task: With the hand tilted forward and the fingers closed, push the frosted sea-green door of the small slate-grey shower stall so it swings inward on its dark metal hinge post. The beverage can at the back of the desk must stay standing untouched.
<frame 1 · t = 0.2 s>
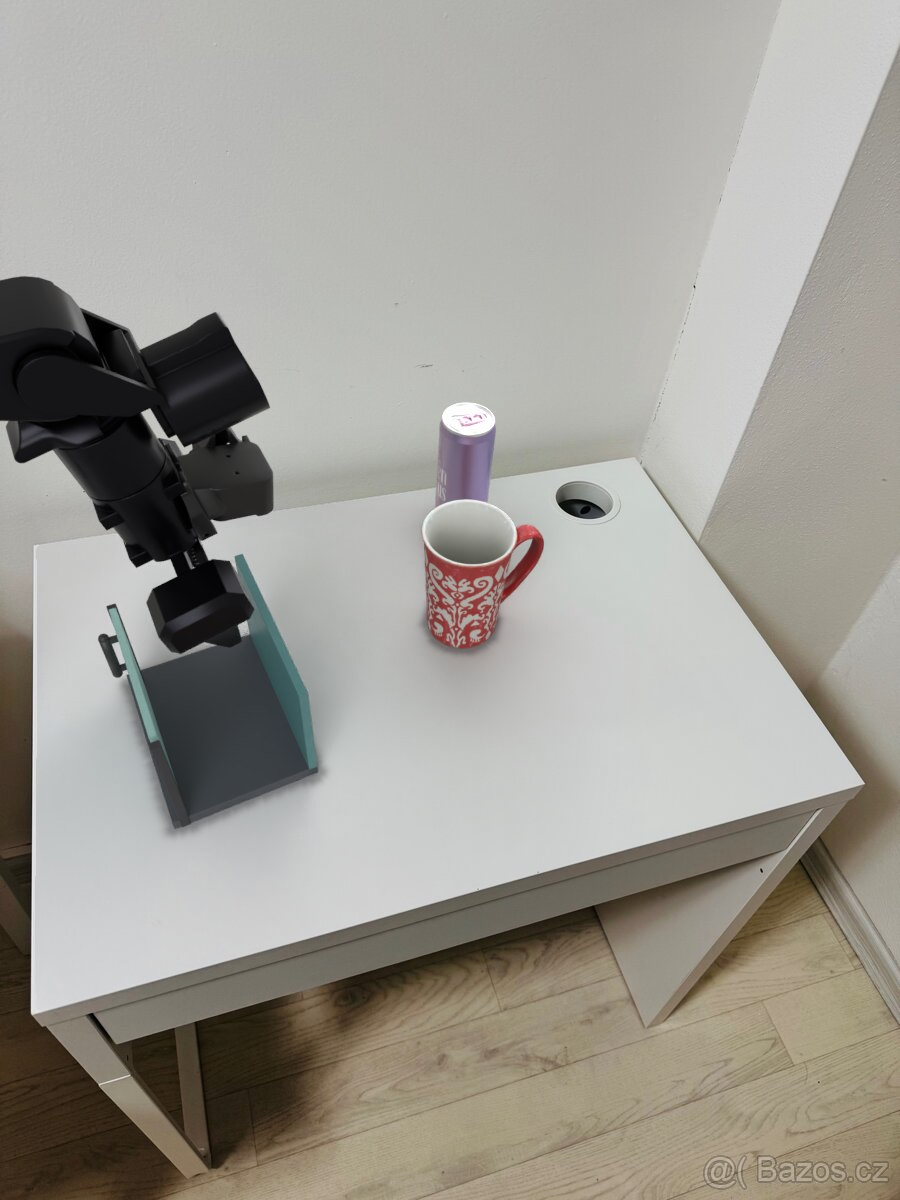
hand: (218, 602, 67), 16 cm above the table, tool pointing down, fingers open, 9 cm apart
beverage can: (459, 523, 99), on the table
shower stall: (220, 725, 79), on the table
shower door: (135, 707, 71), point 7 cm above the table, hinge at 0.0°
mug: (476, 620, 89), on the table
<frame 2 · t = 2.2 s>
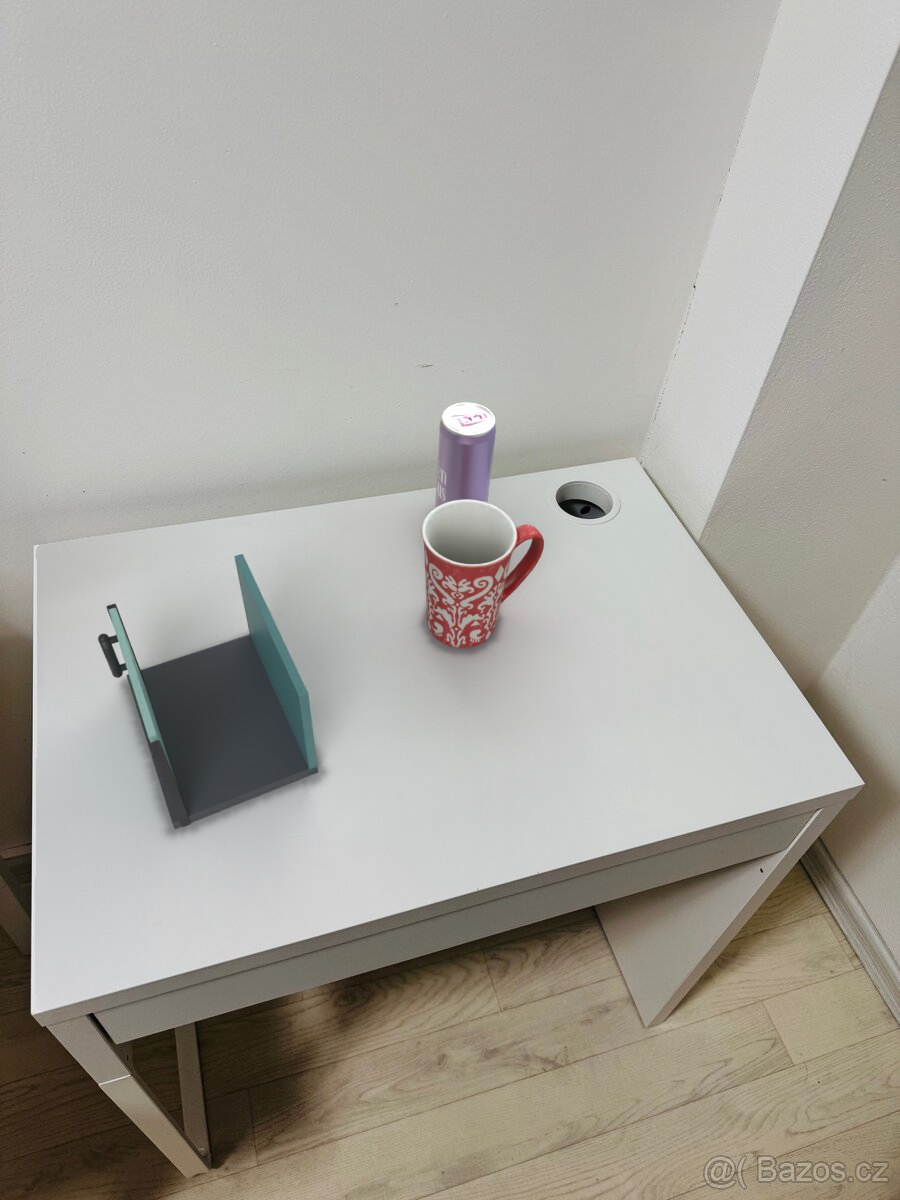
nothing on the table moved.
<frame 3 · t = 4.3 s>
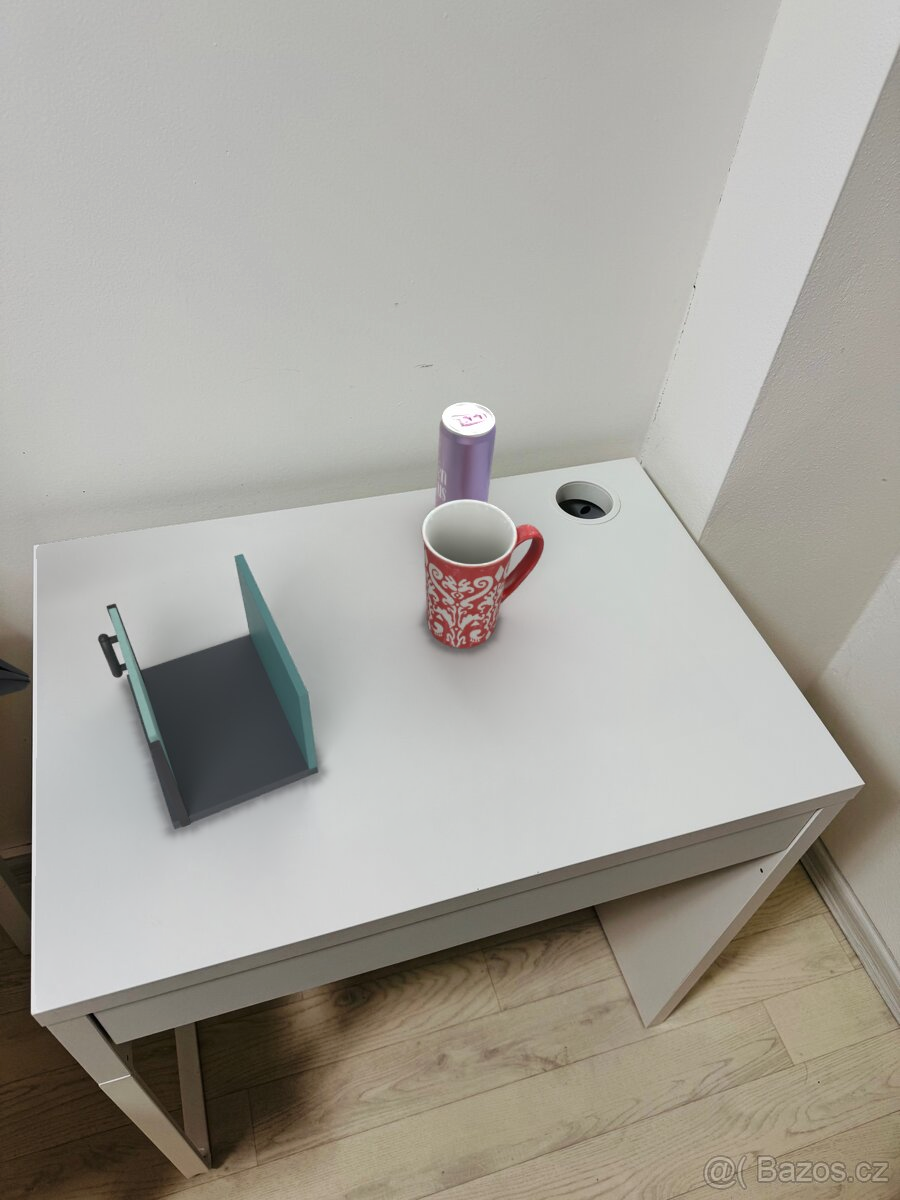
hand: (27, 682, 68), 11 cm above the table, tool tilted 45°, fingers closed
nothing on the table moved.
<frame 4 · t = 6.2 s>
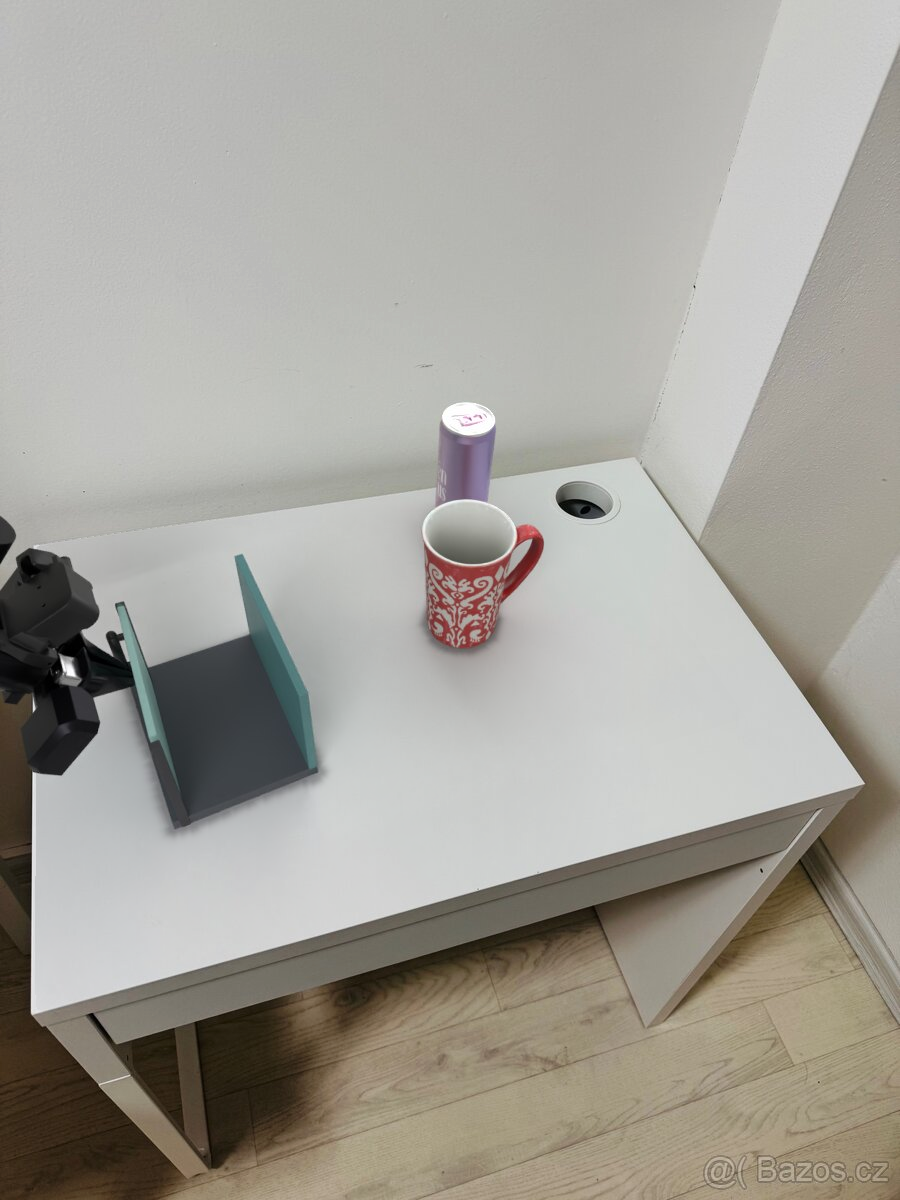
hand: (136, 679, 73), 7 cm above the table, tool tilted 45°, fingers closed, pressing on shower door
shower door: (140, 705, 72), point 7 cm above the table, hinge at 2.8°, touching gripper
everything else where it was.
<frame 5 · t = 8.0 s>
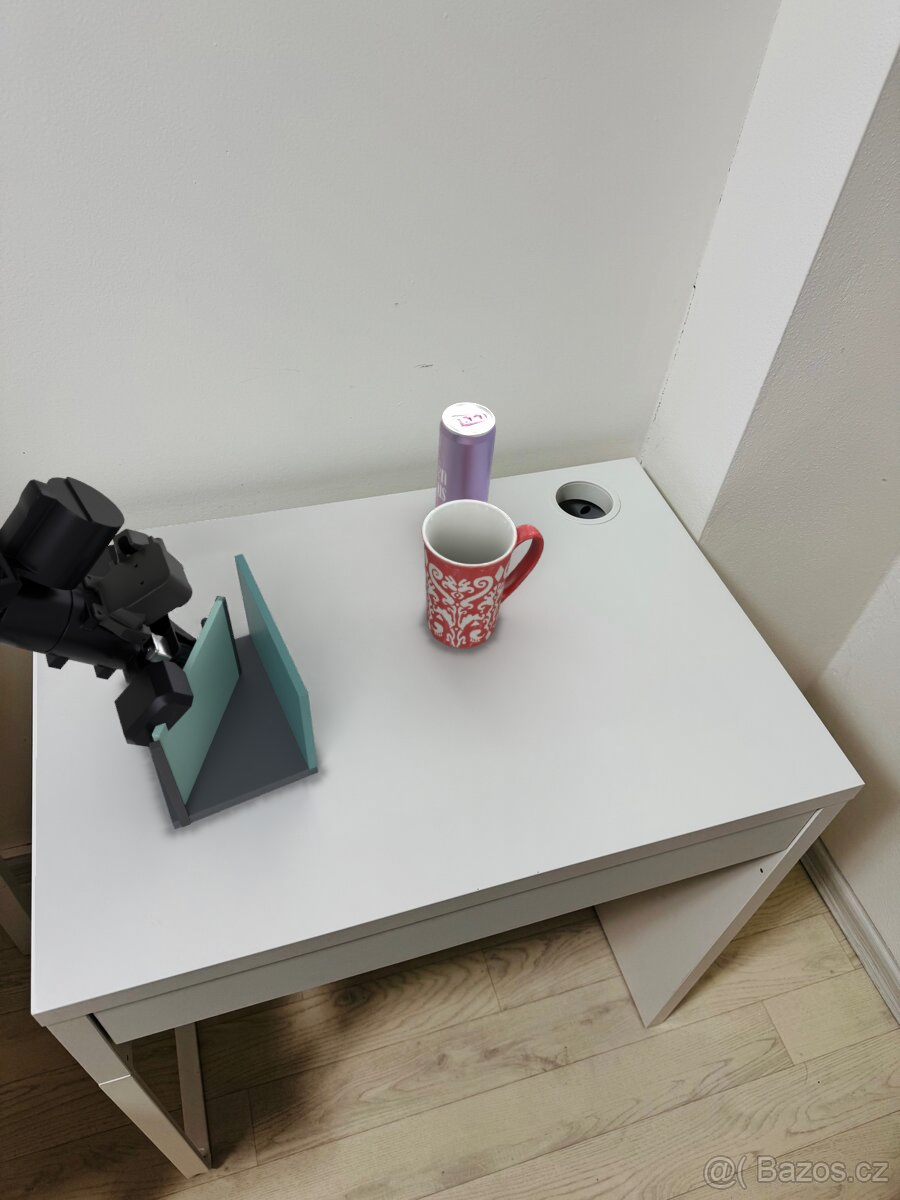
hand: (213, 660, 76), 6 cm above the table, tool tilted 45°, fingers closed, pressing on shower door
shower door: (193, 697, 72), point 7 cm above the table, hinge at 36.4°, touching gripper
everything else where it was.
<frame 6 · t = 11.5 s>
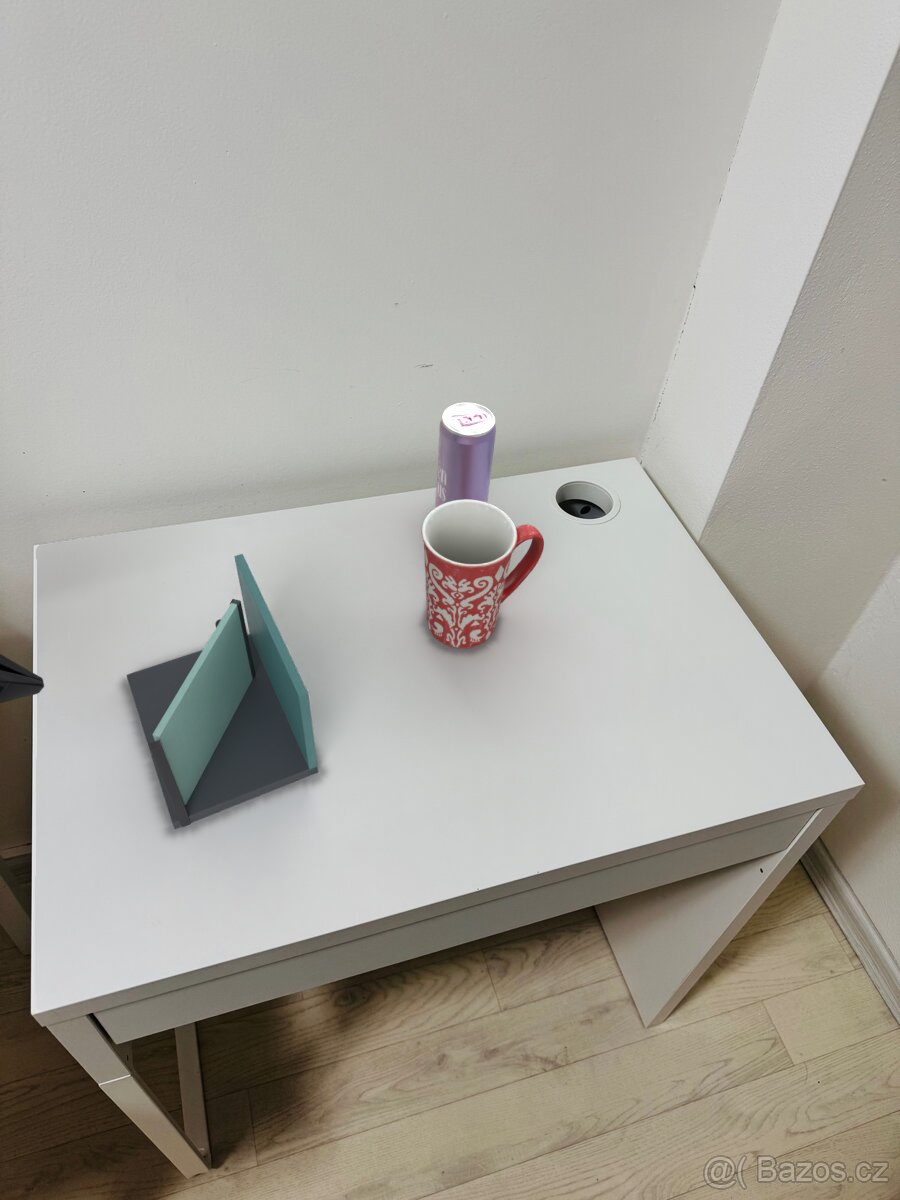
hand: (41, 686, 68), 10 cm above the table, tool tilted 45°, fingers closed
shower door: (201, 698, 72), point 7 cm above the table, hinge at 41.9°
everything else where it was.
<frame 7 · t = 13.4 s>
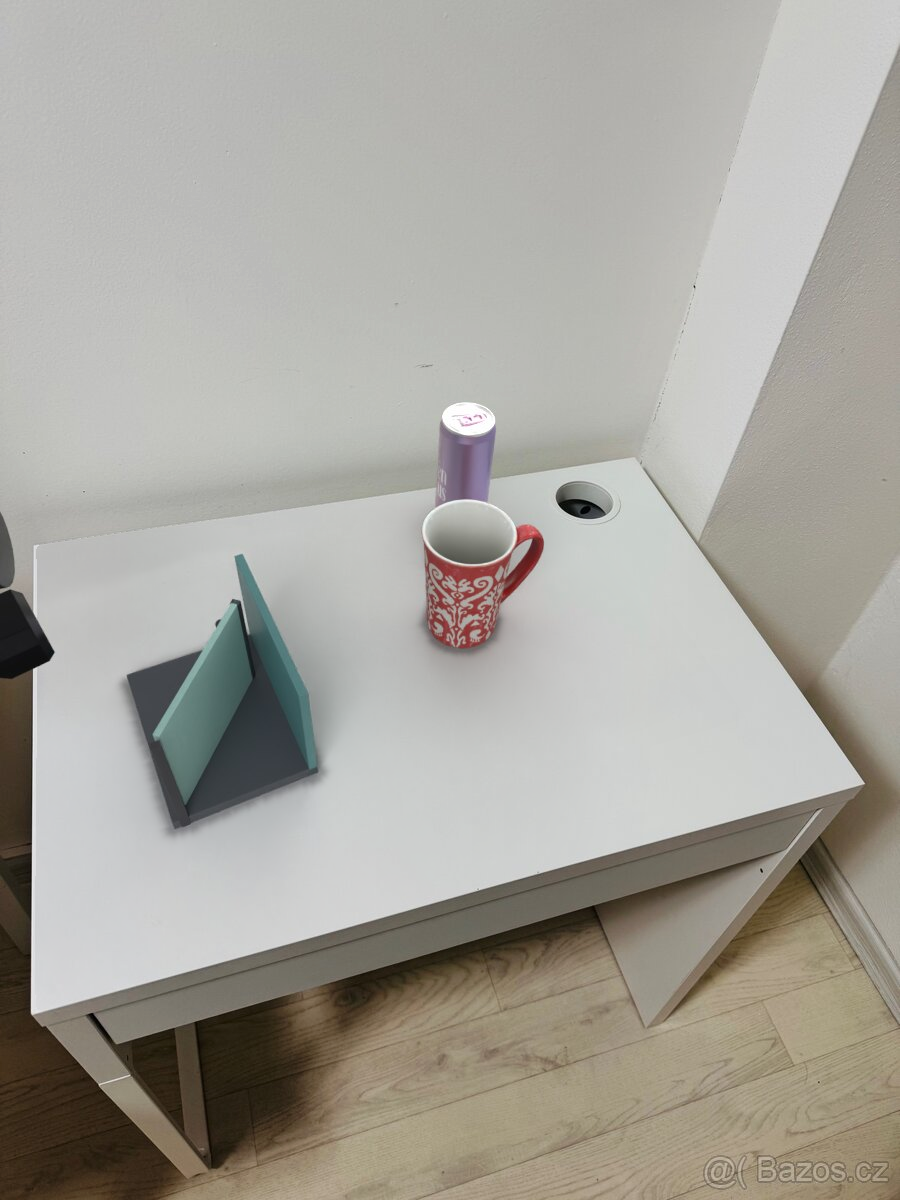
nothing on the table moved.
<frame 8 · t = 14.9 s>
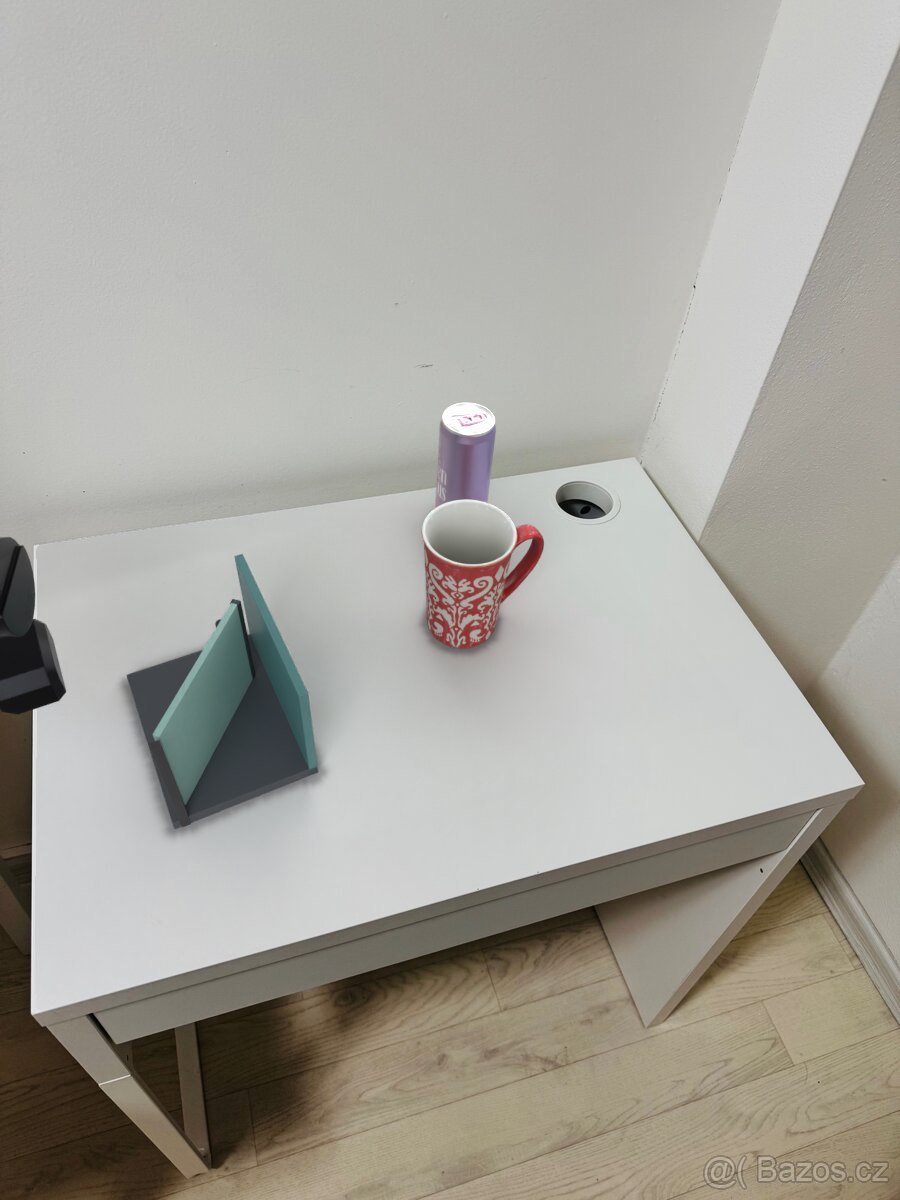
nothing on the table moved.
at the end: shower door at +42° (first picture: +0°); beverage can tilted 0° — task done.
